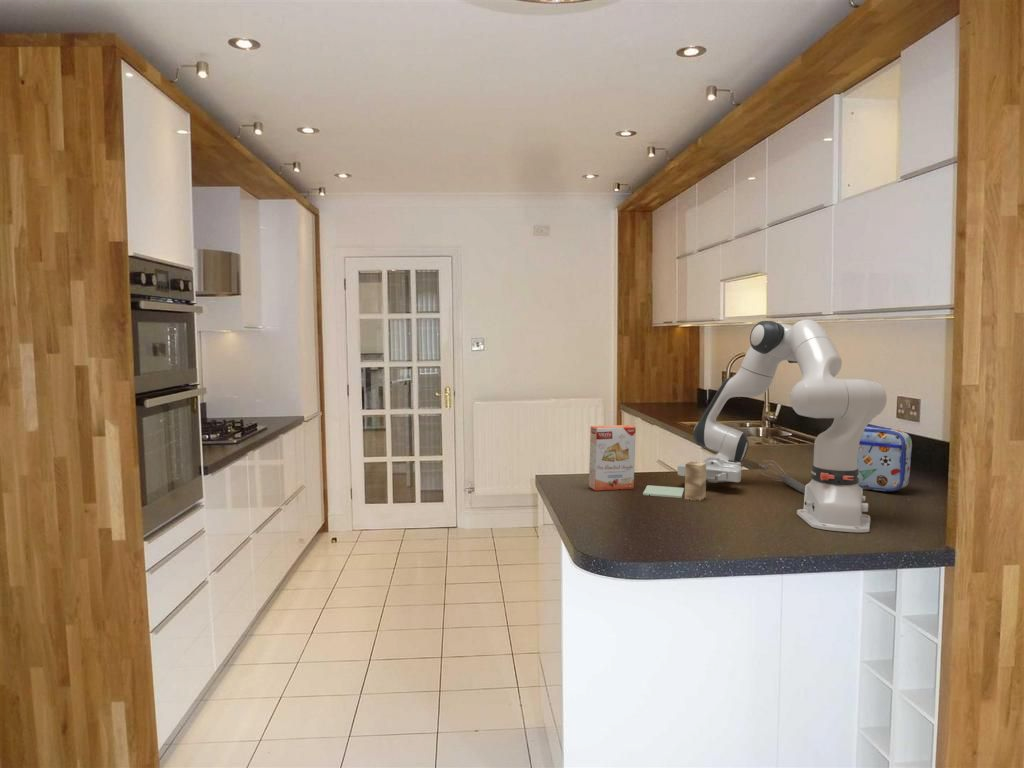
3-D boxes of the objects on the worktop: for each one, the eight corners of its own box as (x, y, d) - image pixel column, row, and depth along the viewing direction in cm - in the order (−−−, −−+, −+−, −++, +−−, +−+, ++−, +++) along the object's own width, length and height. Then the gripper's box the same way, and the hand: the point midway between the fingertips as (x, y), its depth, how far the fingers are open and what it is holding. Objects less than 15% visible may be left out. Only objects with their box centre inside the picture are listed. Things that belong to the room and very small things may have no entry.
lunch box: (814, 482, 236) (817, 419, 235) (827, 478, 243) (829, 417, 242) (902, 496, 216) (905, 428, 215) (912, 491, 223) (916, 425, 222)
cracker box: (595, 491, 221) (596, 427, 219) (588, 487, 227) (589, 425, 225) (634, 489, 224) (636, 426, 223) (627, 485, 230) (628, 424, 229)
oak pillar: (705, 497, 213) (706, 463, 212) (700, 501, 209) (701, 465, 208) (689, 495, 216) (690, 461, 215) (684, 498, 212) (685, 464, 211)
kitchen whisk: (801, 497, 216) (802, 477, 216) (754, 475, 250) (755, 458, 249) (819, 496, 217) (820, 477, 216) (770, 475, 250) (771, 458, 250)
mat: (681, 498, 213) (681, 496, 213) (642, 495, 216) (642, 493, 216) (684, 489, 224) (684, 487, 224) (647, 487, 228) (647, 485, 228)
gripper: (684, 456, 234) (671, 462, 223) (745, 462, 223) (734, 469, 212) (684, 474, 235) (670, 481, 223) (745, 481, 224) (734, 489, 212)
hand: (702, 476), depth 217 cm, fingers open, 8 cm apart
